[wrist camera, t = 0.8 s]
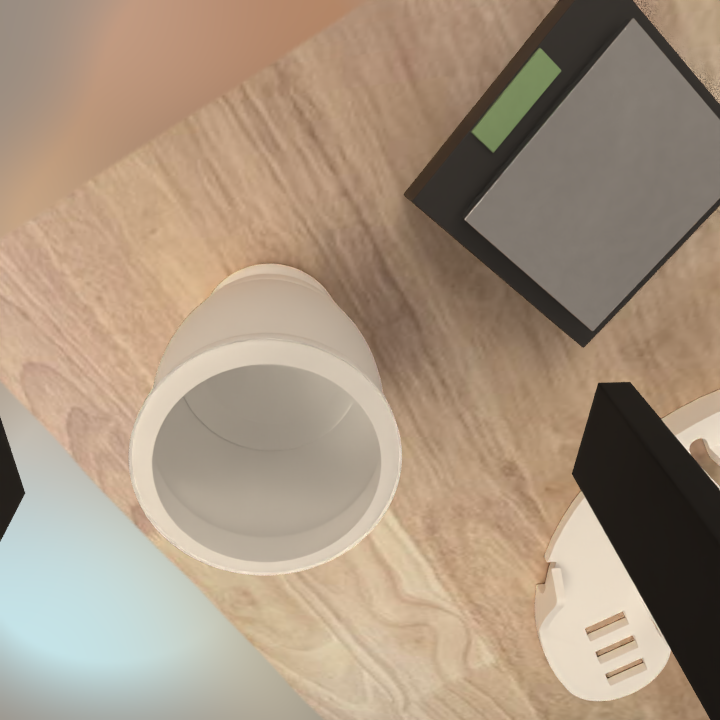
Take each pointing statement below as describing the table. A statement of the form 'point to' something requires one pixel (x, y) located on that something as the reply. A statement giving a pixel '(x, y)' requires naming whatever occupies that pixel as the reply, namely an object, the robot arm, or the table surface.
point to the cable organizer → (607, 589)
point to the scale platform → (605, 179)
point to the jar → (266, 429)
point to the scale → (517, 120)
